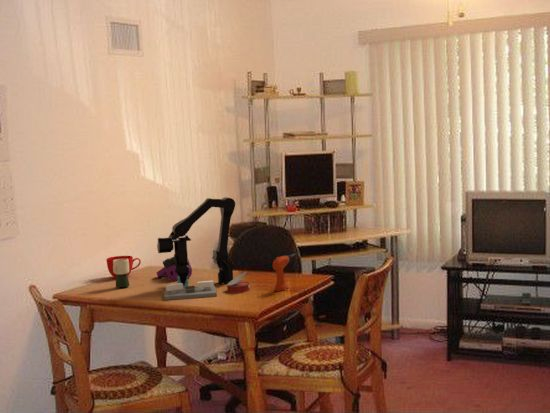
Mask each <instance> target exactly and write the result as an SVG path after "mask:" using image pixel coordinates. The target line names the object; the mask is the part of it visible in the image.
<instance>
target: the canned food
mask: <svg viewBox="0 0 550 413" xmlns="http://www.w3.org/2000/svg"><path fill="white" fill-rule="evenodd" d="M246 273H247V271H244V272H243V273H241V274H240V275H238V276H236V277H233V280H232V281H230V282H229V283H226V284H227V285H226V287H227V288H226V290H227V292H228V293H234V294H236V293H246V292H249V291H250V290H251V288H250V282H249V281H241V280H243V279H244V277H245V275H246Z"/></svg>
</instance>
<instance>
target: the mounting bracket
mask: <svg viewBox="0 0 550 413" xmlns="http://www.w3.org/2000/svg"><path fill="white" fill-rule="evenodd" d="M188 263H189V273H188V277H189V278H191V277H192V274H193V270H192V266H191V263H190V260H189V259H188ZM156 275H157V278H162V277H163V278H164V277H166V276H167V278H168V280H169V281H171V280H173V281H172V282H175V280H176V281H178V276H179V275H178V274H177V273H175V265H173V266H170V267H168V268H167V269H165V267H163V268H161V269H160V270H158V271H156Z"/></svg>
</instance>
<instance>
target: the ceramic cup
mask: <svg viewBox="0 0 550 413" xmlns="http://www.w3.org/2000/svg"><path fill="white" fill-rule="evenodd" d="M116 259H128V260H129V273H127V276H128V277H129V276H130V274H131V273H132V271H133V270H135V269H137V268H138V267H140V265H141V263H142V261H141V259H140V258H139V257H135V258H134V257H133V255H117V256H116V255H115V256H110V257H107V258H106V266H107V270H108V272H109V274H110V275H111V276H112V277H113V278H114V279H116V276H117V274H114V272H113V260H116ZM136 260H138V263H137V265H136V266H134V262H135V261H136ZM133 266H134V267H133Z"/></svg>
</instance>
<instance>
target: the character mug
mask: <svg viewBox="0 0 550 413" xmlns="http://www.w3.org/2000/svg"><path fill="white" fill-rule="evenodd" d="M113 272H114V274H117V276H116V278H115V288H120V289H122V288H127V287H129V286H130V280H129V275H128V276H127V273H129V260H128V259H116V260H113Z"/></svg>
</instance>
